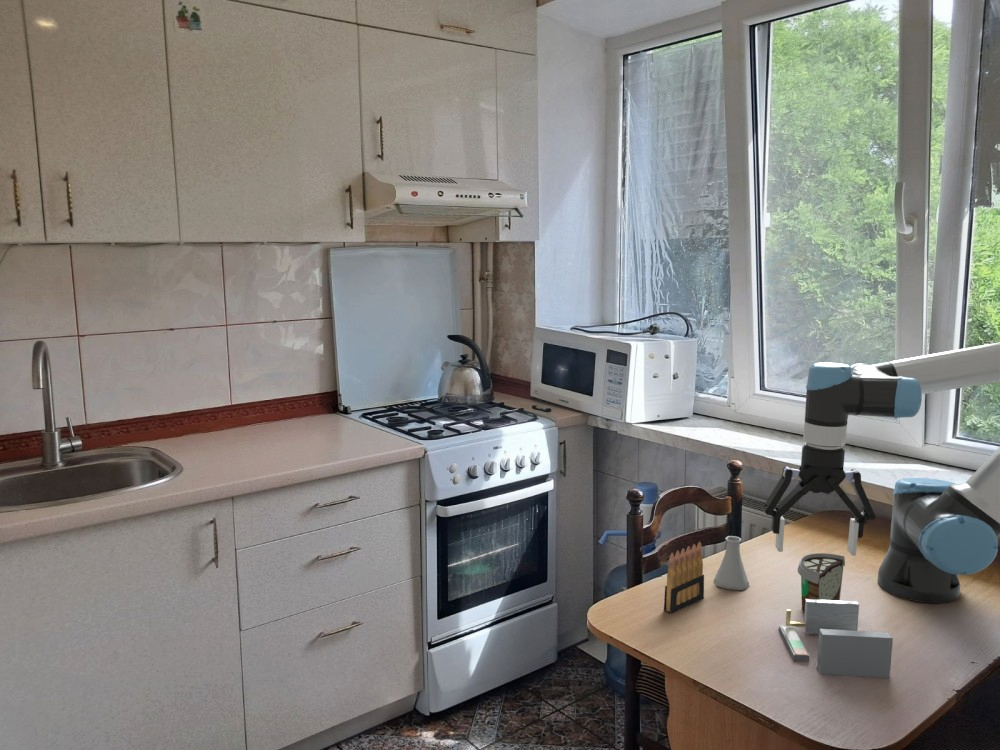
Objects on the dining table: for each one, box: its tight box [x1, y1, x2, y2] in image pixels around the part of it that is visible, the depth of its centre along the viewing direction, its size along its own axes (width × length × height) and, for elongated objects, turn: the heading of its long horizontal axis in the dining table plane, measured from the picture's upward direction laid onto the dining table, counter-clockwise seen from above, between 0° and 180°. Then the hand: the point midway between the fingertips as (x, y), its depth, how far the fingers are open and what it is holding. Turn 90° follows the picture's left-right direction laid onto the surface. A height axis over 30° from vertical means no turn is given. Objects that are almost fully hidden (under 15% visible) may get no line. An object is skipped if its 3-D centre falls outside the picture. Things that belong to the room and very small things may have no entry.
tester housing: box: [778, 624, 894, 679], centre depth 139 cm, size 14×15×7 cm
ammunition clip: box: [663, 541, 705, 615], centre depth 158 cm, size 11×2×12 cm, turn 131°
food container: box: [797, 552, 846, 615], centre depth 156 cm, size 12×6×10 cm, turn 134°
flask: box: [713, 535, 750, 591], centre depth 167 cm, size 7×7×10 cm
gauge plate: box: [785, 599, 860, 635], centre depth 146 cm, size 12×1×6 cm, turn 84°
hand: (815, 551), depth 155 cm, fingers open, 13 cm apart
